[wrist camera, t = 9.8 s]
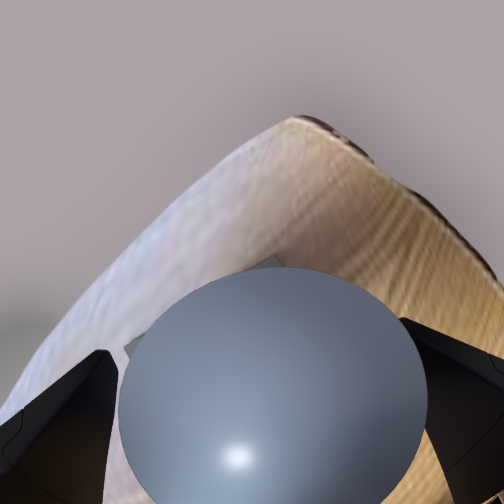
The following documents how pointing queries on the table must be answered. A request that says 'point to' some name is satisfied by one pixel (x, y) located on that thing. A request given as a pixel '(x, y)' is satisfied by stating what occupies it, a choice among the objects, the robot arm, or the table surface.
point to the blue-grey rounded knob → (273, 394)
